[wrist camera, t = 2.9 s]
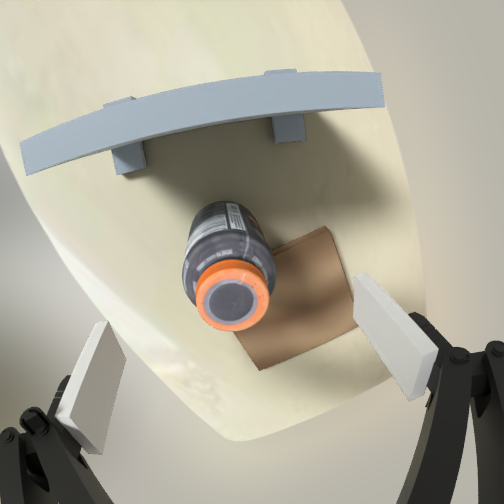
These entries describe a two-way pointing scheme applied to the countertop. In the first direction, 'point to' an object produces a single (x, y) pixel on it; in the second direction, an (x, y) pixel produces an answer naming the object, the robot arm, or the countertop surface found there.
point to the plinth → (301, 302)
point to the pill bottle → (228, 267)
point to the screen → (202, 114)
